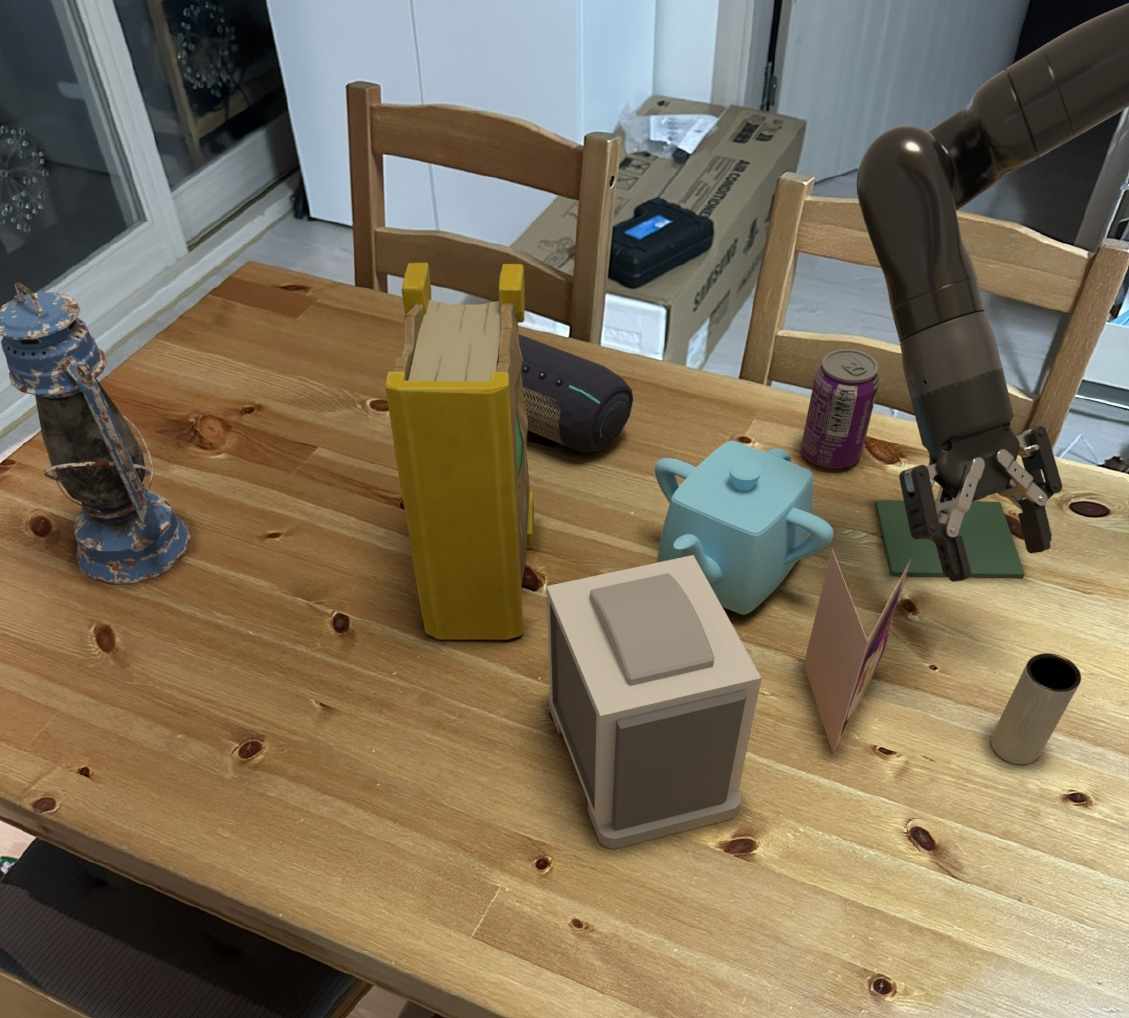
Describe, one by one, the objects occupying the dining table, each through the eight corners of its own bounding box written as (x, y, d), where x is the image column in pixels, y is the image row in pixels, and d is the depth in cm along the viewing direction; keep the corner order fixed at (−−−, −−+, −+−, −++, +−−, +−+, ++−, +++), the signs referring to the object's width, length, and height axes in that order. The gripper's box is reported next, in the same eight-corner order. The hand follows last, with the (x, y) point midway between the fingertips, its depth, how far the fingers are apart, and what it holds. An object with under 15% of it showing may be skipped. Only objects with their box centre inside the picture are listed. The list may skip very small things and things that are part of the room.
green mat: (998, 505, 120) (1000, 501, 120) (1023, 578, 113) (1025, 574, 112) (874, 504, 121) (875, 499, 120) (890, 576, 113) (892, 571, 113)
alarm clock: (744, 815, 94) (774, 678, 80) (603, 852, 92) (608, 717, 78) (672, 670, 105) (688, 525, 91) (545, 699, 103) (540, 556, 89)
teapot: (646, 524, 119) (652, 421, 108) (790, 516, 119) (810, 413, 109) (665, 641, 108) (674, 539, 97) (825, 632, 108) (851, 529, 98)
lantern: (48, 542, 118) (-85, 283, 95) (142, 490, 124) (38, 233, 100) (125, 607, 112) (3, 346, 88) (221, 549, 117) (130, 288, 94)
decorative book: (525, 644, 108) (510, 380, 84) (417, 642, 108) (372, 378, 84) (537, 517, 120) (527, 255, 96) (440, 515, 120) (406, 254, 97)
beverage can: (872, 459, 126) (896, 368, 116) (828, 481, 123) (849, 390, 114) (831, 430, 129) (851, 339, 120) (787, 450, 127) (804, 359, 117)
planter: (985, 726, 100) (1021, 652, 92) (1033, 727, 100) (1073, 652, 92) (996, 764, 98) (1033, 691, 89) (1045, 765, 97) (1088, 692, 89)
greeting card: (841, 757, 98) (877, 644, 86) (767, 727, 101) (792, 614, 89) (882, 677, 104) (920, 561, 93) (811, 650, 107) (840, 535, 95)
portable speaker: (428, 408, 133) (419, 334, 125) (477, 370, 138) (471, 297, 130) (594, 478, 124) (595, 403, 116) (640, 435, 129) (643, 361, 121)
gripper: (912, 390, 84) (962, 586, 87) (1053, 347, 88) (1097, 536, 91) (860, 413, 92) (907, 593, 94) (992, 372, 95) (1035, 547, 98)
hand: (1000, 565), depth 92 cm, fingers open, 8 cm apart
